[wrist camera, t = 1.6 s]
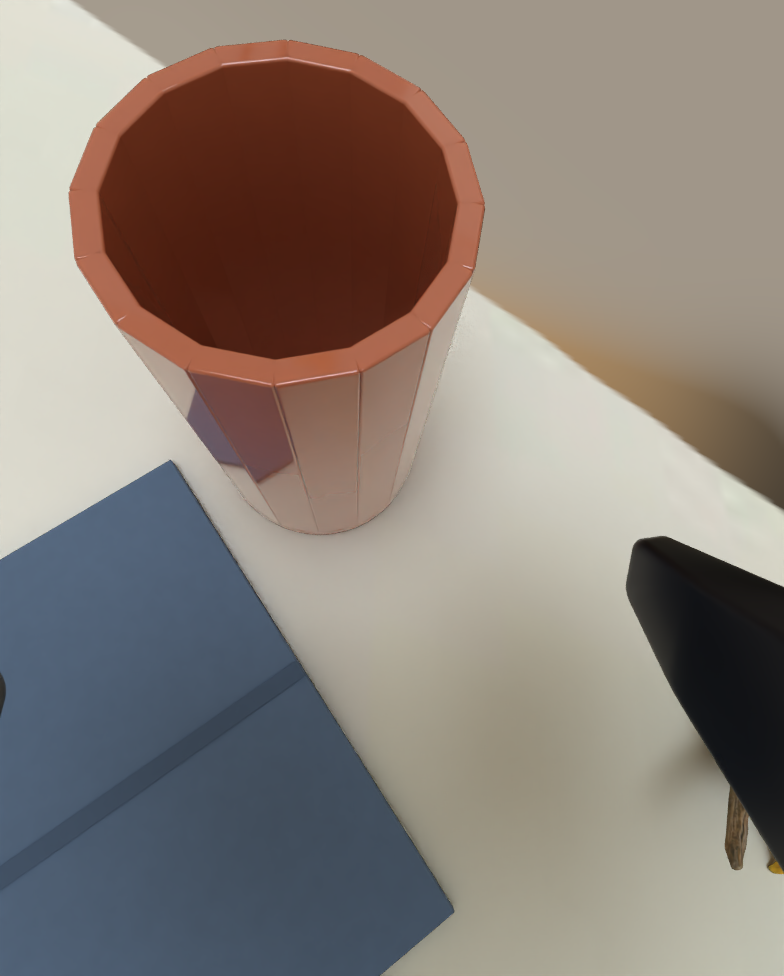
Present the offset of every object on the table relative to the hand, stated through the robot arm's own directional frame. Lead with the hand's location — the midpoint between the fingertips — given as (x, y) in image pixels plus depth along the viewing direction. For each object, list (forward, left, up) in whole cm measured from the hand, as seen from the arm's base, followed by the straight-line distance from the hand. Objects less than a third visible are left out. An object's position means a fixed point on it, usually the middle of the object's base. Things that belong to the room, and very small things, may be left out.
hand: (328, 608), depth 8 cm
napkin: (0, +8, -13) cm, 15 cm away
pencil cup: (+6, -3, -13) cm, 15 cm away
